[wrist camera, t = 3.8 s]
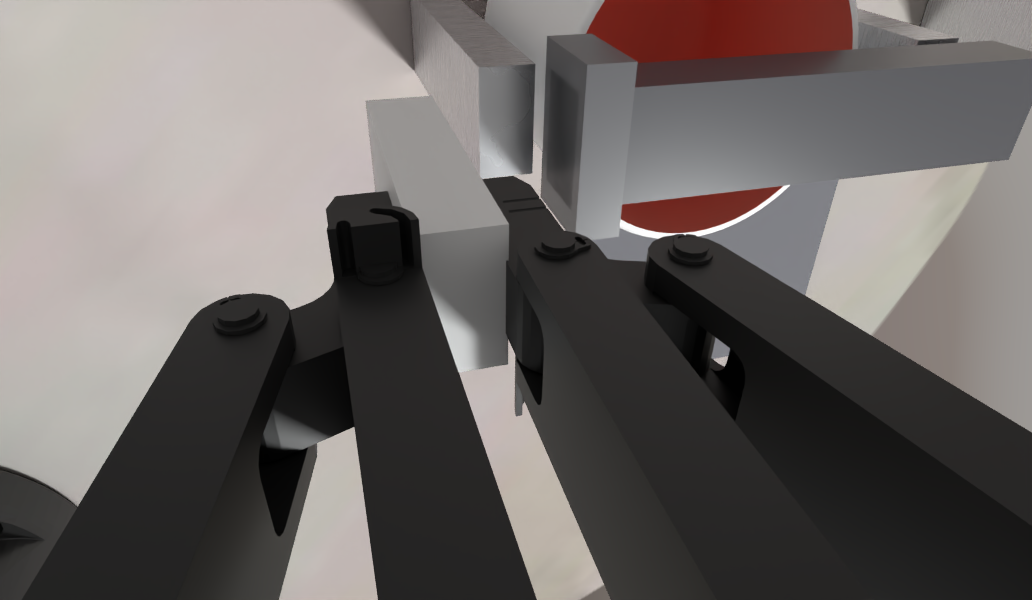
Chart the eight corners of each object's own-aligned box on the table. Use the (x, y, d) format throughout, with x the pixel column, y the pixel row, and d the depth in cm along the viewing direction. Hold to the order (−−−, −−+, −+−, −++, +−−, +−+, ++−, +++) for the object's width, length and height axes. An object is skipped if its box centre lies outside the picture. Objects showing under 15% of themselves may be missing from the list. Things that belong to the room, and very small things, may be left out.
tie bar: (540, 197, 20) (574, 242, 18) (547, 36, 17) (587, 64, 15) (939, 153, 23) (1010, 186, 21) (990, 13, 21) (1076, 34, 19)
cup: (545, -172, 25) (675, -177, 17) (744, -42, 29) (921, 3, 21) (436, 90, 29) (500, 187, 21) (627, 168, 33) (740, 273, 25)
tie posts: (414, 71, 28) (480, 178, 19) (409, -10, 26) (478, 67, 17) (940, 39, 34) (1171, 108, 25) (963, -28, 33) (1218, 21, 24)
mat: (570, 377, 39) (574, 383, 39) (588, 139, 32) (593, 143, 31) (784, 339, 43) (790, 344, 42) (847, 115, 35) (855, 119, 35)
